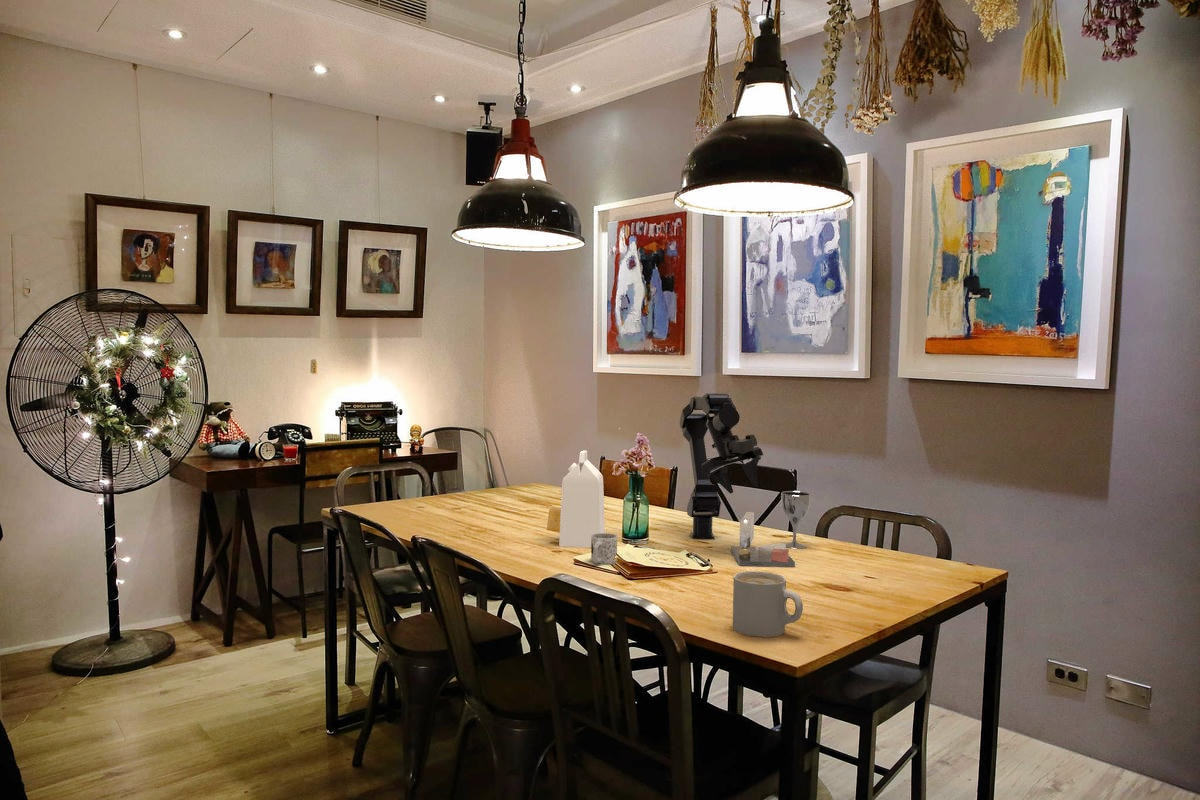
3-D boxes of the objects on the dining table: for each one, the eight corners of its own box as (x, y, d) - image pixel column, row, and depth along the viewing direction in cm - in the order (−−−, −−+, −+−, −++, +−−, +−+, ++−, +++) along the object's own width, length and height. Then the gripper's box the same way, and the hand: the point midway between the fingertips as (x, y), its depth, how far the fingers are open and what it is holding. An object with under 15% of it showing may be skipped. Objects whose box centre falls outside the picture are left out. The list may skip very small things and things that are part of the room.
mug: (596, 557, 215) (596, 532, 215) (620, 559, 213) (620, 534, 213) (582, 566, 206) (582, 539, 206) (606, 568, 204) (607, 542, 203)
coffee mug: (722, 628, 159) (723, 577, 158) (750, 617, 166) (751, 568, 165) (783, 645, 149) (784, 591, 149) (810, 632, 157) (811, 581, 156)
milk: (600, 548, 226) (601, 454, 225) (559, 546, 227) (560, 453, 226) (605, 539, 238) (606, 449, 237) (565, 537, 239) (566, 448, 238)
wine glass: (806, 543, 235) (807, 491, 235) (810, 549, 228) (812, 495, 227) (778, 542, 236) (779, 490, 236) (781, 548, 228) (783, 495, 228)
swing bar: (749, 548, 210) (750, 520, 210) (738, 547, 211) (739, 520, 211) (755, 537, 223) (755, 512, 222) (744, 537, 224) (745, 511, 223)
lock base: (730, 550, 225) (730, 537, 225) (781, 551, 225) (782, 538, 224) (739, 566, 208) (739, 552, 207) (795, 567, 207) (795, 553, 207)
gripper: (715, 431, 214) (737, 487, 210) (764, 420, 225) (787, 473, 221) (691, 446, 223) (712, 500, 219) (739, 434, 234) (760, 486, 230)
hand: (744, 489), depth 222 cm, fingers open, 9 cm apart
